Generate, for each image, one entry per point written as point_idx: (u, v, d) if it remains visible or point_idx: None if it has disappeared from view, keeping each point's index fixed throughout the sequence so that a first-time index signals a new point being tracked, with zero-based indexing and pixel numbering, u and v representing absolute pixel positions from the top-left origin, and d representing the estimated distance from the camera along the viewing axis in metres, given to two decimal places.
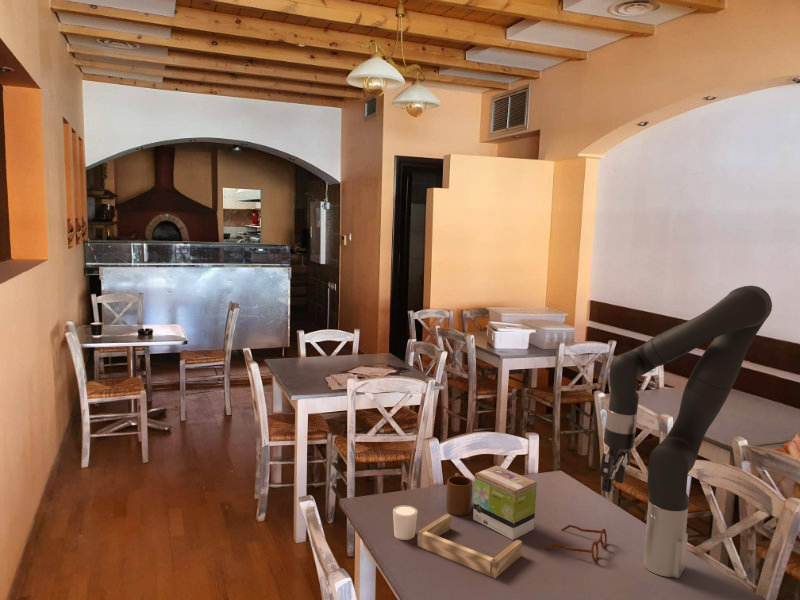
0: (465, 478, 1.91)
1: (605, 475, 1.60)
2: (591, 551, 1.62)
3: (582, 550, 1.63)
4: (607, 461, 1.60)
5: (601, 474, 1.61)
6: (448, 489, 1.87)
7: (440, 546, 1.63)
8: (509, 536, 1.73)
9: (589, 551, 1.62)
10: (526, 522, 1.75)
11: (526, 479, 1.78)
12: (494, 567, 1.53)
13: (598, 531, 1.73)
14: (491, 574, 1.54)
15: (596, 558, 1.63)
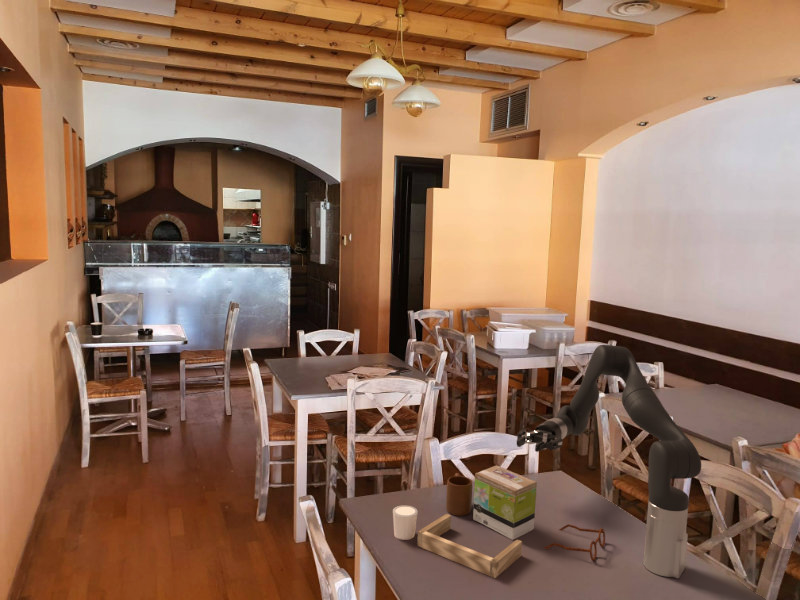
0: (465, 478, 1.91)
1: None
2: (589, 550, 1.62)
3: (580, 549, 1.63)
4: None
5: None
6: (448, 489, 1.87)
7: (440, 546, 1.63)
8: (509, 536, 1.73)
9: (587, 550, 1.62)
10: (526, 522, 1.75)
11: (526, 479, 1.78)
12: (494, 567, 1.53)
13: (596, 531, 1.73)
14: (491, 574, 1.54)
15: (594, 557, 1.64)
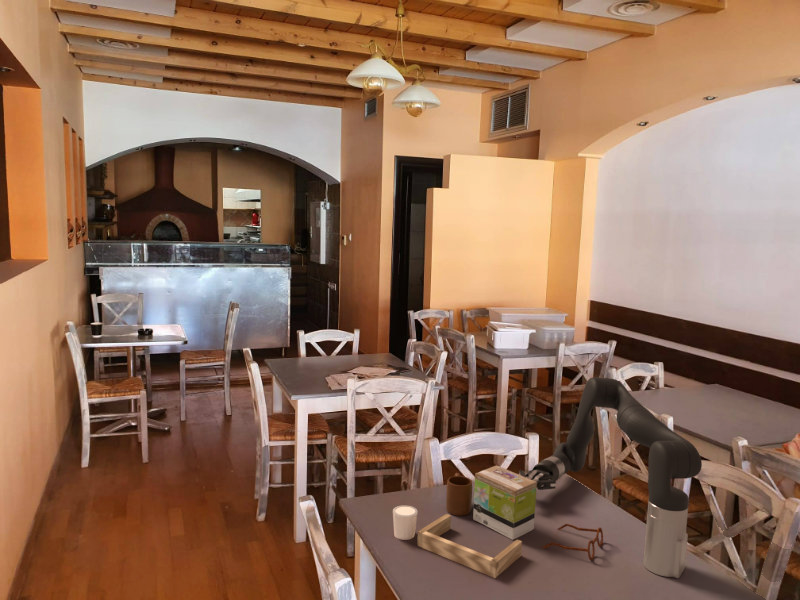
0: (465, 478, 1.91)
1: None
2: (587, 550, 1.62)
3: (578, 549, 1.64)
4: (519, 474, 1.99)
5: None
6: (448, 489, 1.87)
7: (440, 546, 1.63)
8: (509, 536, 1.73)
9: (585, 550, 1.63)
10: (526, 522, 1.75)
11: (526, 479, 1.78)
12: (494, 567, 1.53)
13: (594, 530, 1.74)
14: (491, 574, 1.54)
15: (592, 557, 1.64)
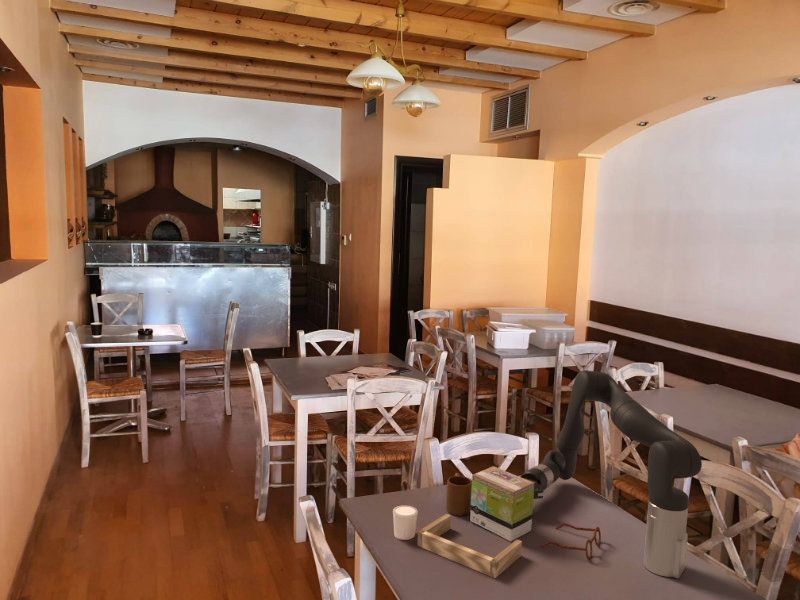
0: (465, 478, 1.91)
1: None
2: (585, 549, 1.63)
3: (576, 548, 1.64)
4: None
5: None
6: (448, 489, 1.87)
7: (440, 546, 1.63)
8: (507, 537, 1.72)
9: (583, 549, 1.63)
10: (524, 523, 1.75)
11: (524, 480, 1.77)
12: (494, 567, 1.53)
13: (592, 529, 1.74)
14: (491, 574, 1.54)
15: (590, 556, 1.64)
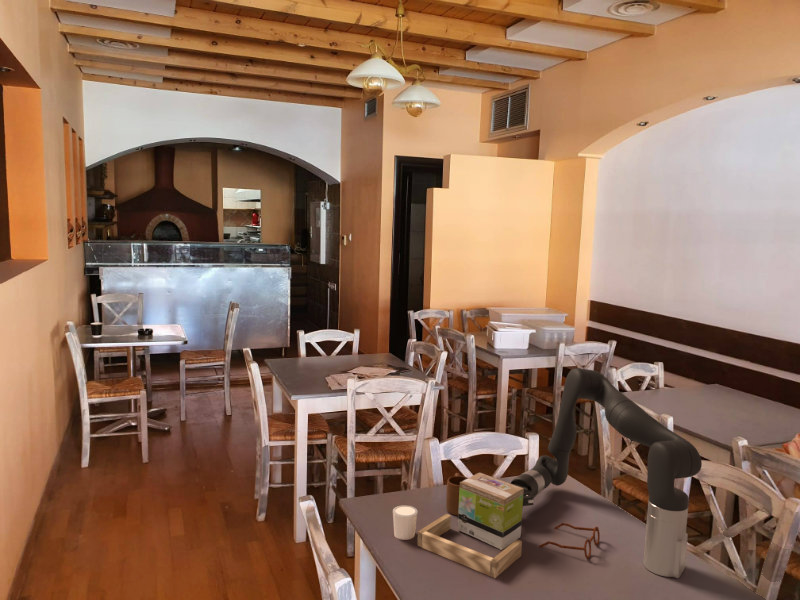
0: (465, 478, 1.91)
1: None
2: (584, 549, 1.63)
3: (575, 548, 1.64)
4: None
5: None
6: (448, 489, 1.87)
7: (440, 546, 1.63)
8: (498, 546, 1.67)
9: (582, 549, 1.63)
10: (514, 530, 1.70)
11: (512, 486, 1.72)
12: (494, 567, 1.53)
13: (591, 529, 1.74)
14: (491, 574, 1.54)
15: (589, 556, 1.64)
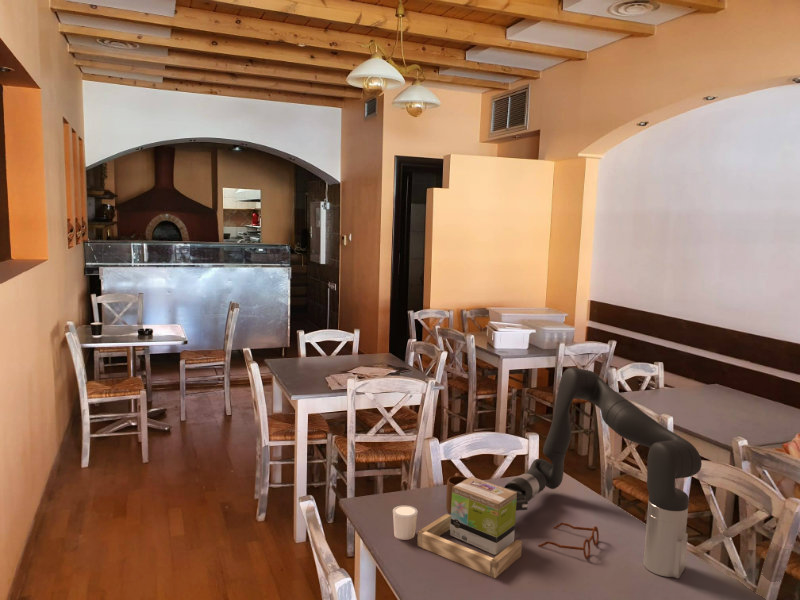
0: (465, 478, 1.91)
1: None
2: (583, 548, 1.63)
3: (574, 547, 1.64)
4: None
5: None
6: (448, 489, 1.87)
7: (440, 546, 1.63)
8: (492, 551, 1.65)
9: (581, 548, 1.63)
10: (507, 535, 1.68)
11: (506, 490, 1.70)
12: (494, 567, 1.53)
13: (590, 529, 1.74)
14: (491, 574, 1.54)
15: (588, 555, 1.65)
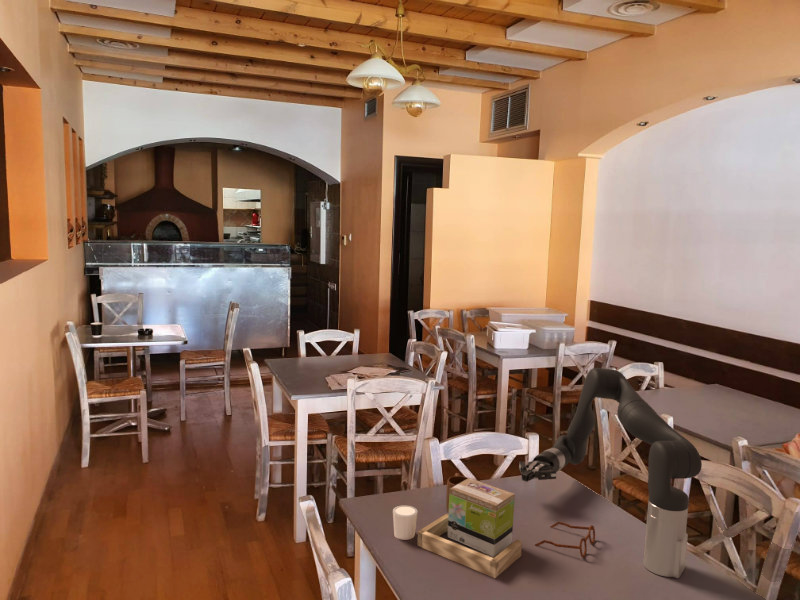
0: (465, 478, 1.91)
1: None
2: (579, 547, 1.64)
3: (570, 546, 1.65)
4: (520, 465, 1.98)
5: None
6: (448, 489, 1.87)
7: (440, 546, 1.63)
8: (489, 553, 1.64)
9: (577, 547, 1.64)
10: (505, 537, 1.67)
11: (503, 491, 1.69)
12: (494, 567, 1.53)
13: (586, 528, 1.75)
14: (491, 574, 1.54)
15: (584, 554, 1.65)
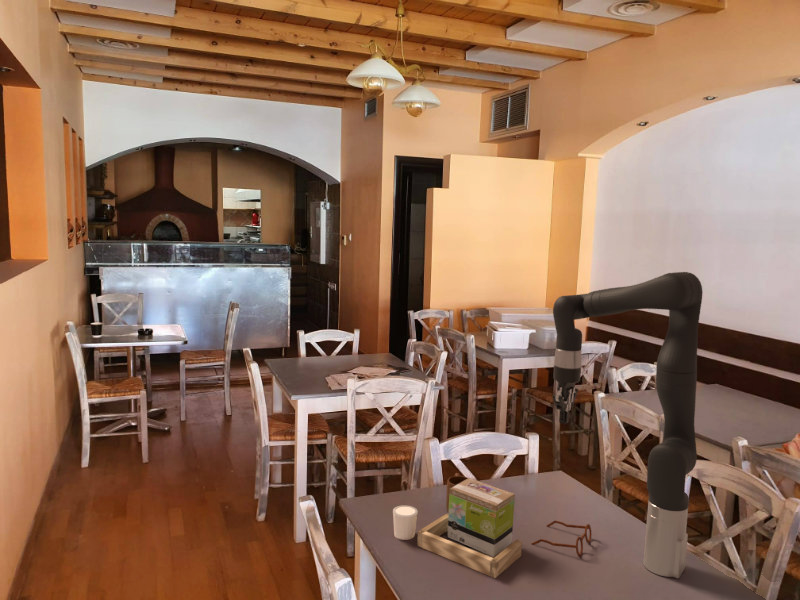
0: (465, 478, 1.91)
1: (561, 408, 1.80)
2: (575, 546, 1.64)
3: (567, 545, 1.65)
4: (558, 401, 1.78)
5: (557, 407, 1.80)
6: (448, 489, 1.87)
7: (440, 546, 1.63)
8: (489, 553, 1.64)
9: (573, 546, 1.64)
10: (505, 537, 1.67)
11: (503, 491, 1.69)
12: (494, 567, 1.53)
13: (583, 527, 1.75)
14: (491, 574, 1.54)
15: (580, 553, 1.66)
